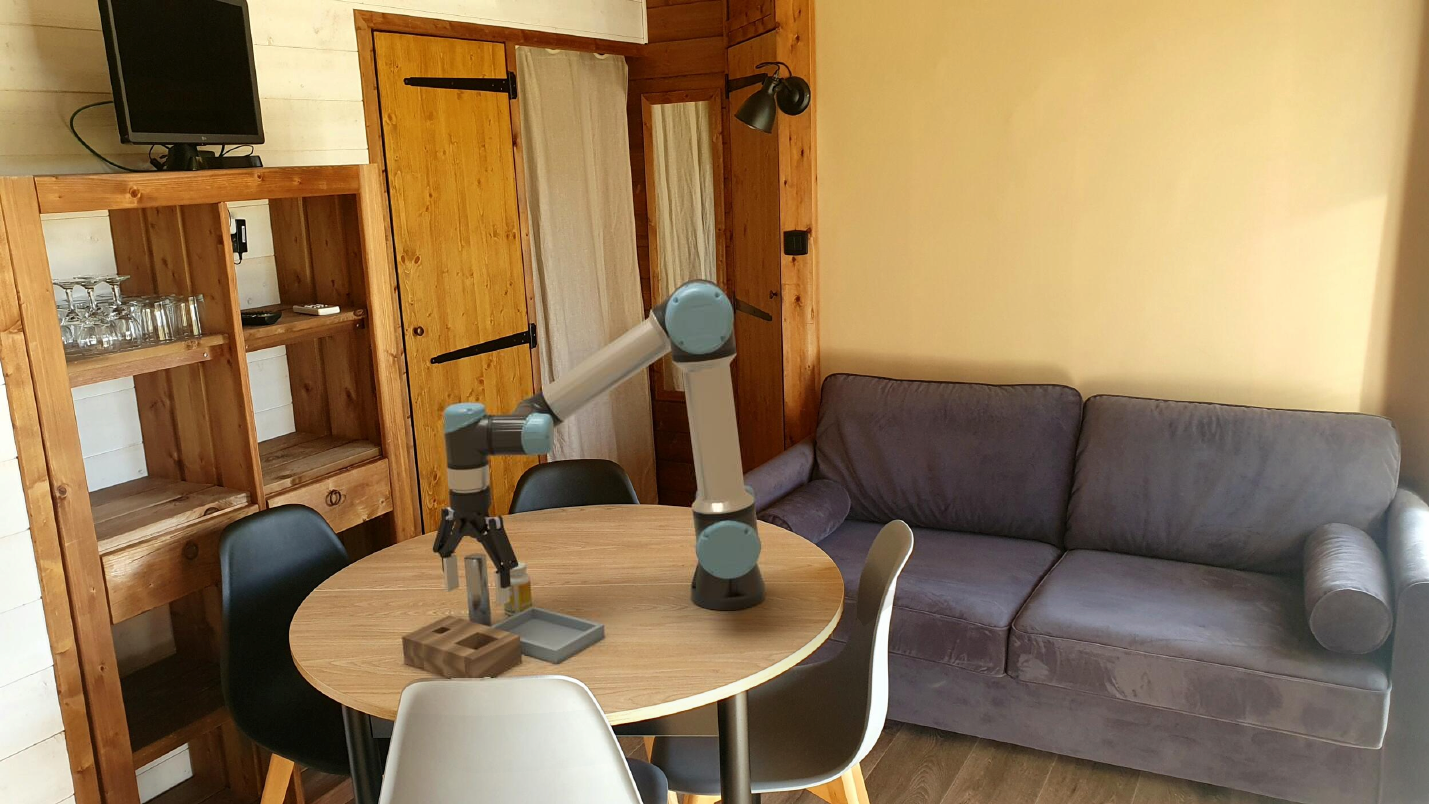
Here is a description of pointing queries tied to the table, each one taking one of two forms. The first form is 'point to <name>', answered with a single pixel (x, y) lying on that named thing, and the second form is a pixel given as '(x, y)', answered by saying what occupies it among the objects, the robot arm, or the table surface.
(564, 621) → the tray
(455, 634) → the wooden peg board
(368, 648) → the table surface
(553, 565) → the table surface
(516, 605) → the supplement bottle
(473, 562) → the cylinder
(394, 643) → the table surface
